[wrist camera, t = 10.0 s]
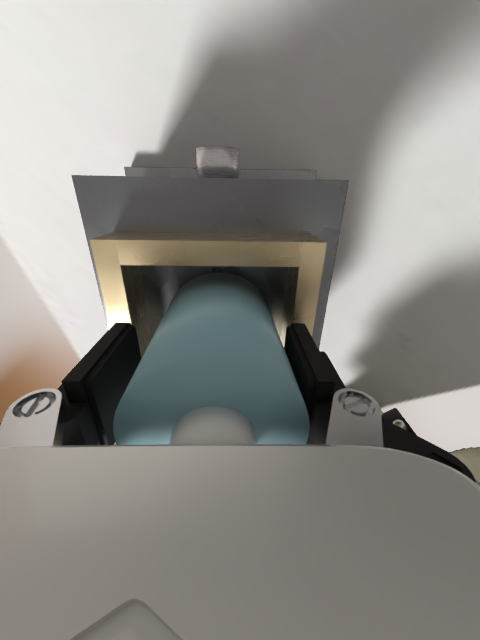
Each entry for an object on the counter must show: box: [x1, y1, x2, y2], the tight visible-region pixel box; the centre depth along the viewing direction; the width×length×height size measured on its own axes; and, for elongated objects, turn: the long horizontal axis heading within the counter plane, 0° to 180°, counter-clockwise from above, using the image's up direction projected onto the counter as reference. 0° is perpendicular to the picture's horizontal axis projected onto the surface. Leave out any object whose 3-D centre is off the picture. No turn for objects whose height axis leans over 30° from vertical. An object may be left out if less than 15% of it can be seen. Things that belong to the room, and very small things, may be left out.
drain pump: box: [113, 272, 310, 445], centre depth 11 cm, size 6×7×9 cm
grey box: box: [72, 146, 349, 359], centre depth 18 cm, size 14×17×12 cm
